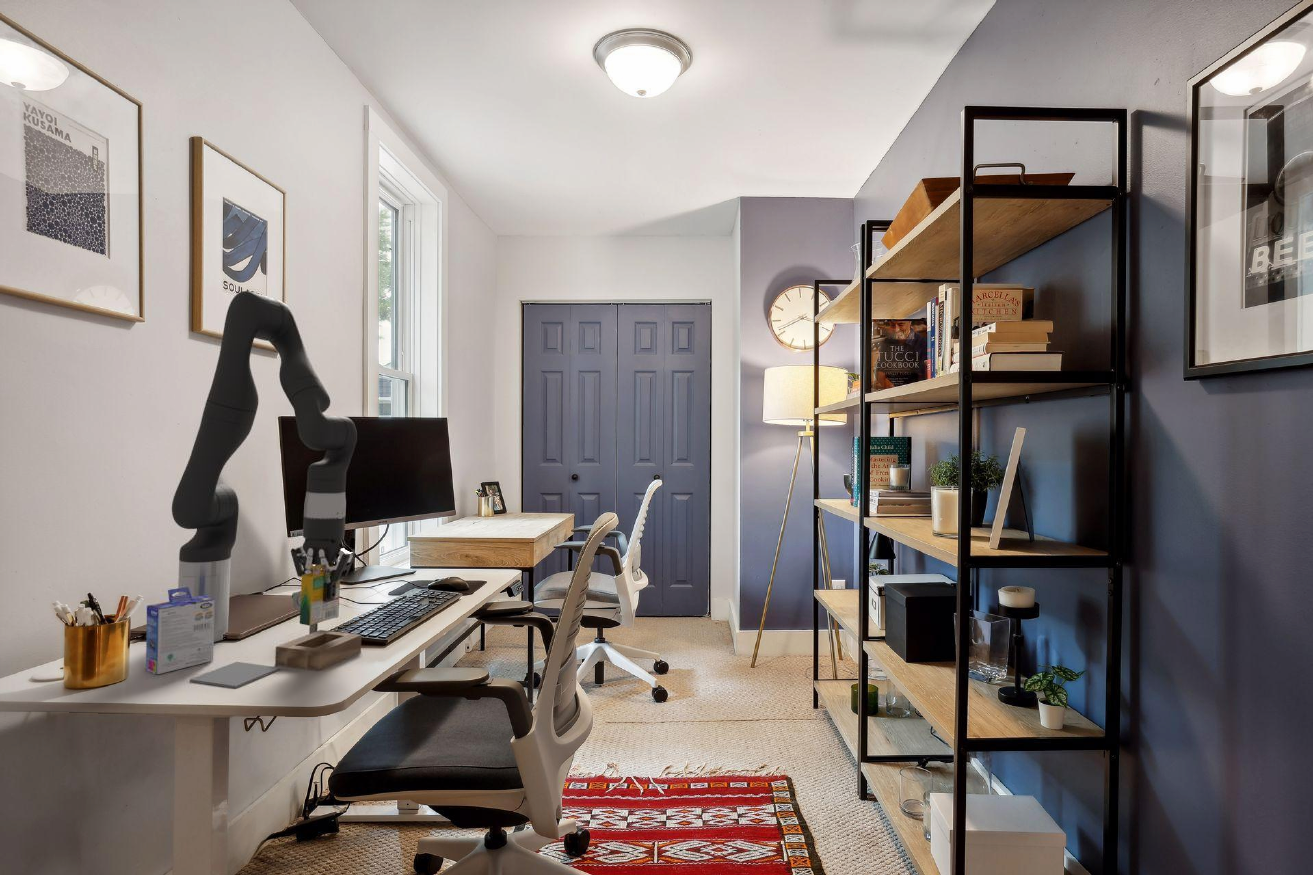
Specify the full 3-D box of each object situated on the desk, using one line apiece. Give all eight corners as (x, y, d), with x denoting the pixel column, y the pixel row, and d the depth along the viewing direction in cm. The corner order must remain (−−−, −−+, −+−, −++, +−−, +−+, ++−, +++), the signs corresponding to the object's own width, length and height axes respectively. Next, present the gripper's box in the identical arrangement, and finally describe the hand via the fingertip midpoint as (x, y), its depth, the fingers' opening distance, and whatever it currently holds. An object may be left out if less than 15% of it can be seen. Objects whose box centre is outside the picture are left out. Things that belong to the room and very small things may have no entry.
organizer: (275, 664, 129) (275, 646, 129) (319, 646, 141) (320, 629, 141) (319, 670, 127) (320, 652, 127) (360, 651, 139) (361, 634, 139)
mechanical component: (328, 642, 144) (330, 596, 144) (287, 638, 146) (289, 592, 146) (338, 639, 147) (340, 593, 147) (297, 634, 149) (299, 589, 149)
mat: (189, 681, 119) (189, 679, 119) (236, 663, 129) (236, 661, 129) (236, 688, 117) (236, 685, 117) (280, 669, 127) (280, 667, 127)
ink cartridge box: (200, 655, 133) (203, 583, 133) (215, 661, 130) (218, 587, 130) (142, 669, 124) (145, 591, 124) (156, 675, 122) (160, 596, 122)
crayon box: (327, 615, 138) (331, 559, 138) (339, 617, 137) (342, 560, 137) (298, 623, 131) (301, 564, 131) (309, 626, 130) (313, 566, 130)
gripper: (280, 513, 132) (276, 600, 132) (342, 518, 129) (337, 608, 129) (308, 510, 139) (304, 592, 139) (367, 515, 136) (363, 599, 136)
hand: (320, 599), depth 134 cm, fingers closed on crayon box, 3 cm apart
